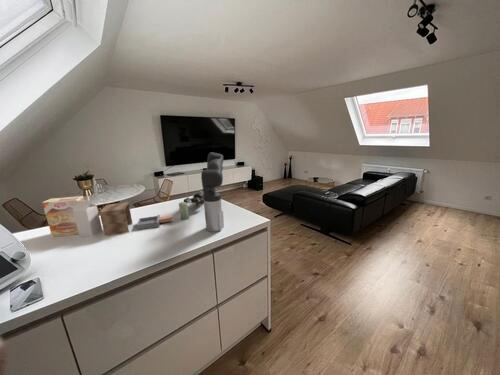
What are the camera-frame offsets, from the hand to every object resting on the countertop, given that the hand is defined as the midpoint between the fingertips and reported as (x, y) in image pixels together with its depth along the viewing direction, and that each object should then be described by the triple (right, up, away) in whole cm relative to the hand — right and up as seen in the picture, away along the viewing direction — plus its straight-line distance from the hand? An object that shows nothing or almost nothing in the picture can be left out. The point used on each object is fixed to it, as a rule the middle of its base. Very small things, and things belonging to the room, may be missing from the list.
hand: (189, 204), depth 132 cm
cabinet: (-34, -13, -19) cm, 41 cm away
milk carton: (-46, -14, -24) cm, 54 cm away
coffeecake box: (-58, -14, -22) cm, 64 cm away
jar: (-1, -8, -6) cm, 10 cm away
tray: (-16, -10, -13) cm, 23 cm away
